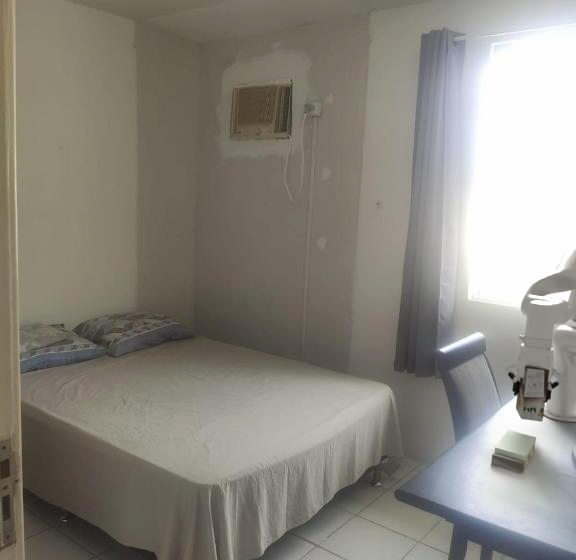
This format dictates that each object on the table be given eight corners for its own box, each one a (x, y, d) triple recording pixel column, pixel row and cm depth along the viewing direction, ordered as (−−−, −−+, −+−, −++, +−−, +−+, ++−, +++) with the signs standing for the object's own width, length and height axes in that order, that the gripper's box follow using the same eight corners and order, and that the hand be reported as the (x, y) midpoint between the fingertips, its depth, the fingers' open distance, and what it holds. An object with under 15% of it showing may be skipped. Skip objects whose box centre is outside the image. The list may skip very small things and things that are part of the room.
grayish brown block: (505, 443, 169) (506, 433, 169) (534, 451, 165) (535, 441, 164) (490, 465, 154) (492, 454, 153) (521, 474, 150) (523, 463, 149)
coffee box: (543, 422, 167) (550, 370, 164) (520, 419, 169) (526, 368, 166) (536, 410, 176) (542, 360, 173) (514, 407, 177) (520, 358, 175)
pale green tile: (507, 434, 169) (507, 429, 169) (535, 442, 165) (536, 437, 165) (494, 452, 156) (495, 447, 155) (525, 461, 151) (525, 456, 151)
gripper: (504, 339, 170) (498, 394, 173) (568, 350, 161) (560, 408, 164) (510, 334, 176) (503, 387, 179) (571, 345, 167) (563, 401, 170)
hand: (530, 397), depth 171 cm, fingers closed on coffee box, 8 cm apart
